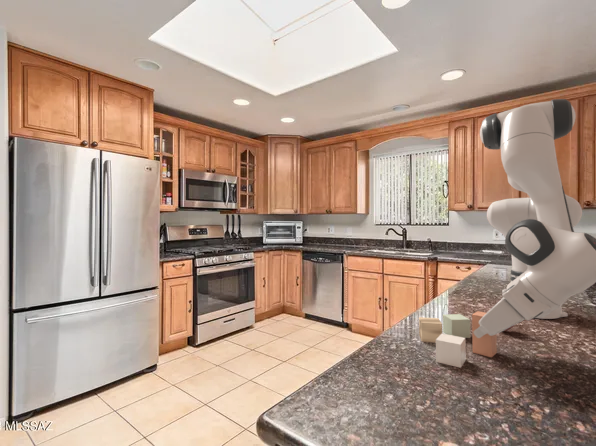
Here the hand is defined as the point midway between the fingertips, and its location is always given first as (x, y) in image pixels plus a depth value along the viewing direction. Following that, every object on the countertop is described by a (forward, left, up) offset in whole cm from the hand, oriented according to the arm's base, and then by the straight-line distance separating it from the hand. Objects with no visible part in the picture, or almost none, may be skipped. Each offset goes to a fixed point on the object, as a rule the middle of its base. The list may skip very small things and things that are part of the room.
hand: (481, 331), depth 76 cm
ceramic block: (+8, -7, -5) cm, 12 cm away
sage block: (-11, -5, -5) cm, 13 cm away
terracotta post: (0, +1, -5) cm, 5 cm away
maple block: (-5, -11, -5) cm, 13 cm away
